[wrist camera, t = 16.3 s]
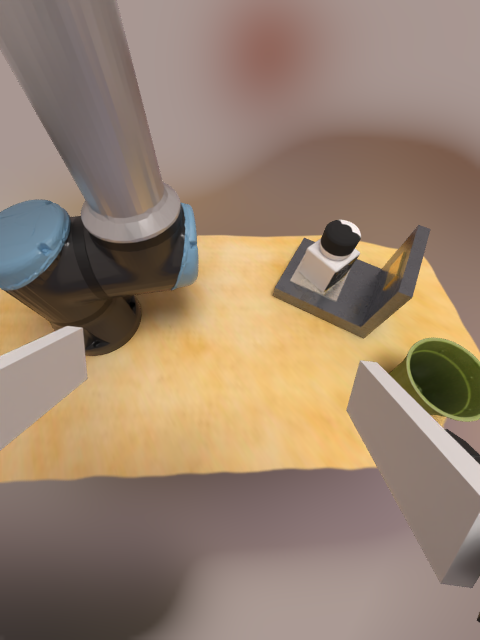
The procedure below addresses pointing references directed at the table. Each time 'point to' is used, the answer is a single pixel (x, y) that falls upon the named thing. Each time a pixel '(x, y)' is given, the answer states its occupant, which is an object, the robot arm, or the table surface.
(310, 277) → the medicine bottle
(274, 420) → the table surface
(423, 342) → the plant pot
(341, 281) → the bookend
